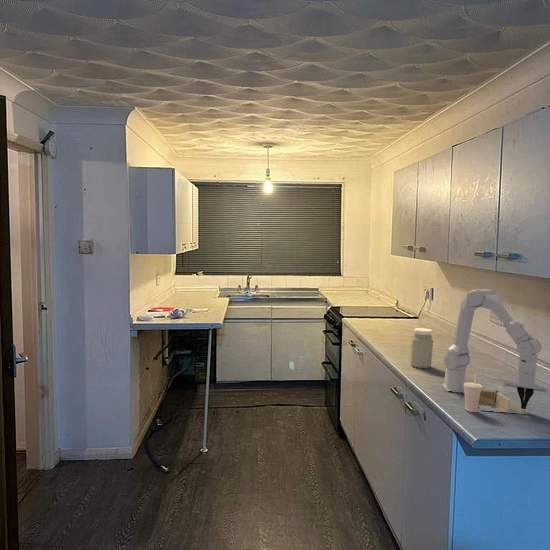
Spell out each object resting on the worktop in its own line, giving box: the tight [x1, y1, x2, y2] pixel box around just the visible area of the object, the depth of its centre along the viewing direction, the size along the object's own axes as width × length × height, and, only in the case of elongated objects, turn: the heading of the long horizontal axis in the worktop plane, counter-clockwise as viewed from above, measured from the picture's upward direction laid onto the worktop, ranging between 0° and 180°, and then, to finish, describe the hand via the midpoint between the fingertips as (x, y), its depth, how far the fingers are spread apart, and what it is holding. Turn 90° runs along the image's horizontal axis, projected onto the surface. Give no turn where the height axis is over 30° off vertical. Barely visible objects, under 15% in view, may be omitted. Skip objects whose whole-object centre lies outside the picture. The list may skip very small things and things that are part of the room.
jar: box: [409, 327, 434, 369], centre depth 238 cm, size 10×10×18 cm
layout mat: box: [477, 398, 528, 415], centre depth 187 cm, size 16×16×1 cm
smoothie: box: [464, 372, 483, 413], centre depth 179 cm, size 6×6×14 cm
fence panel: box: [496, 392, 511, 411], centre depth 184 cm, size 8×1×4 cm, turn 4°
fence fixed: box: [479, 390, 499, 403], centre depth 189 cm, size 1×10×5 cm, turn 83°
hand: (523, 408), depth 181 cm, fingers closed
